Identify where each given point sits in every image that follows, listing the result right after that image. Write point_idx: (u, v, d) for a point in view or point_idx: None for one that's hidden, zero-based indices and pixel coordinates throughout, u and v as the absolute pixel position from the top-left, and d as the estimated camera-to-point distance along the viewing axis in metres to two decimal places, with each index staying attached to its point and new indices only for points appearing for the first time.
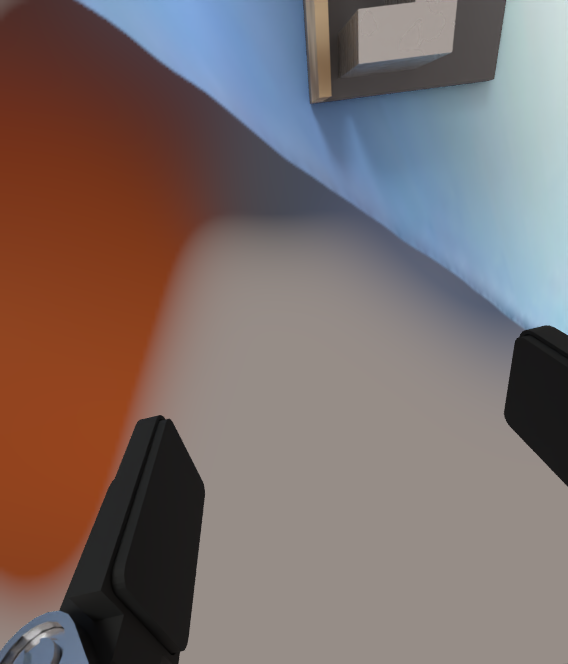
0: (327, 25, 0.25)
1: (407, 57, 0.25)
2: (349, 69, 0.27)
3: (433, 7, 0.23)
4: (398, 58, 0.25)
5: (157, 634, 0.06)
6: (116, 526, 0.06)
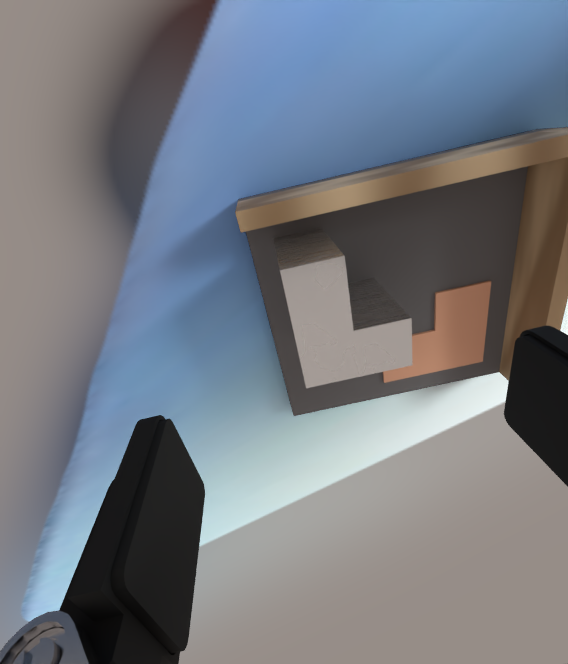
0: (326, 210, 0.17)
1: (295, 337, 0.17)
2: (278, 254, 0.17)
3: (348, 353, 0.18)
4: (292, 326, 0.17)
5: (157, 634, 0.06)
6: (116, 526, 0.06)
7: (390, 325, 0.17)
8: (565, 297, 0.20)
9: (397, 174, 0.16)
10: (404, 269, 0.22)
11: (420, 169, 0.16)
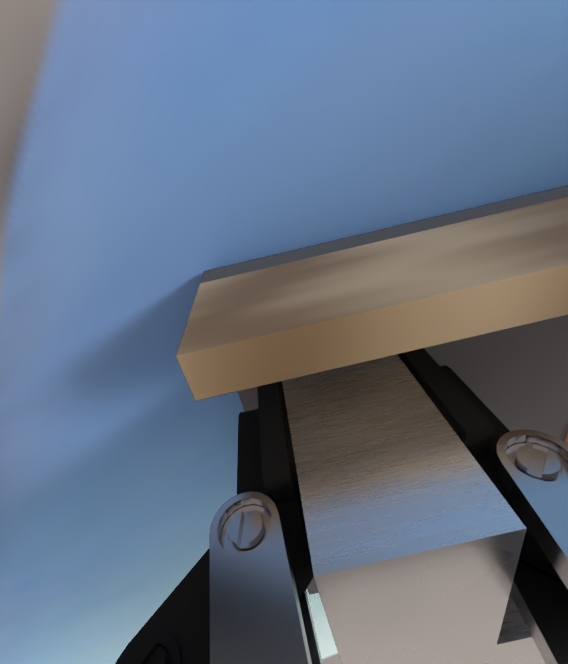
0: (431, 341, 0.06)
1: None
2: (295, 441, 0.07)
3: None
4: (341, 655, 0.06)
5: None
6: (278, 433, 0.07)
7: None
8: None
9: None
10: (525, 389, 0.12)
11: None
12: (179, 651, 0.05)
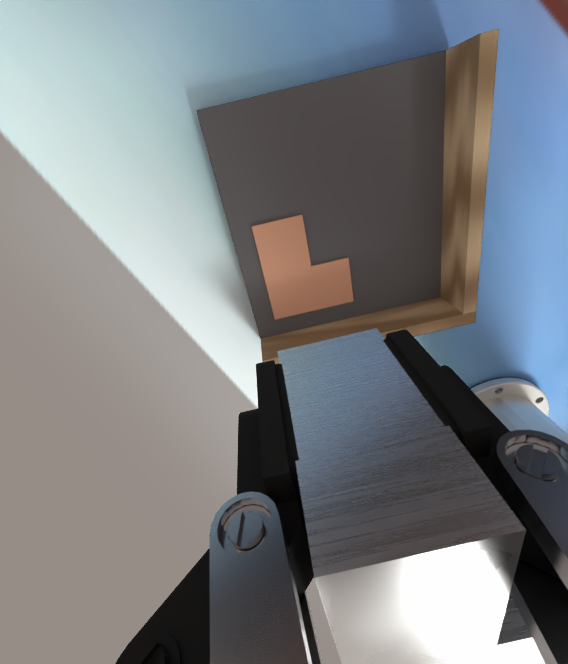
0: (476, 127, 0.20)
1: None
2: (296, 442, 0.07)
3: None
4: (341, 656, 0.06)
5: None
6: (278, 433, 0.07)
7: None
8: None
9: (484, 188, 0.22)
10: (373, 224, 0.26)
11: (483, 205, 0.22)
12: (179, 651, 0.05)
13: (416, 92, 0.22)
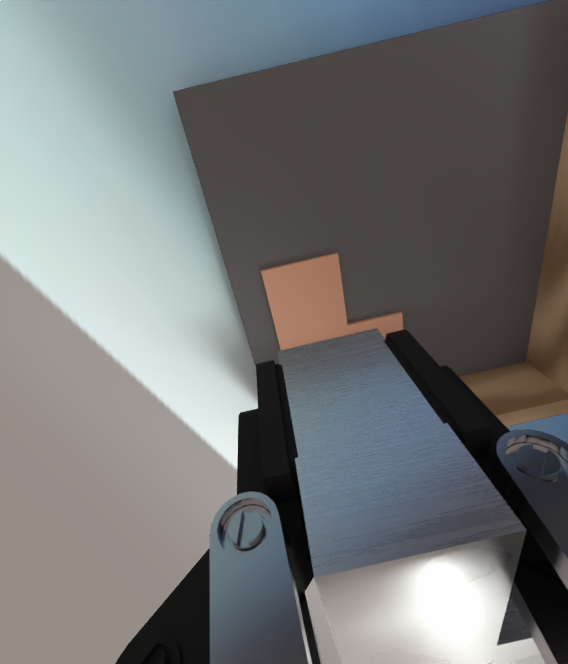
0: None
1: None
2: (296, 442, 0.07)
3: None
4: (341, 656, 0.06)
5: None
6: (278, 433, 0.07)
7: None
8: None
9: None
10: (441, 266, 0.17)
11: None
12: (179, 651, 0.05)
13: (530, 63, 0.13)
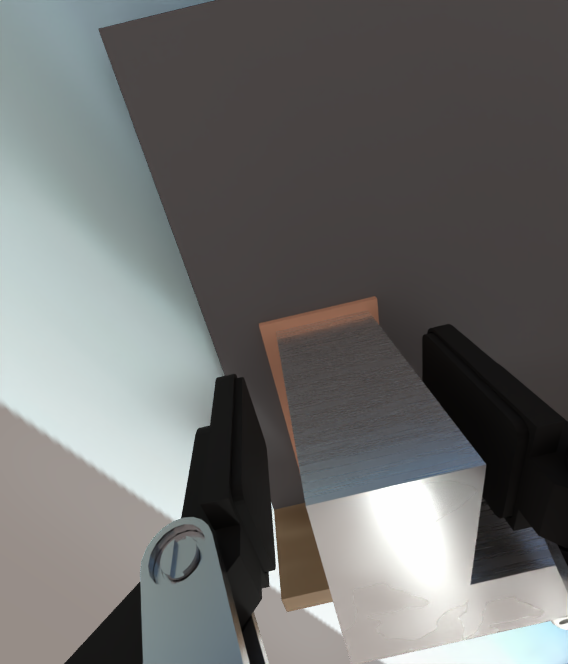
0: None
1: None
2: (291, 405, 0.08)
3: (450, 615, 0.08)
4: (331, 590, 0.07)
5: (258, 549, 0.07)
6: (225, 454, 0.07)
7: (553, 568, 0.07)
8: None
9: None
10: (526, 312, 0.12)
11: None
12: None
13: None
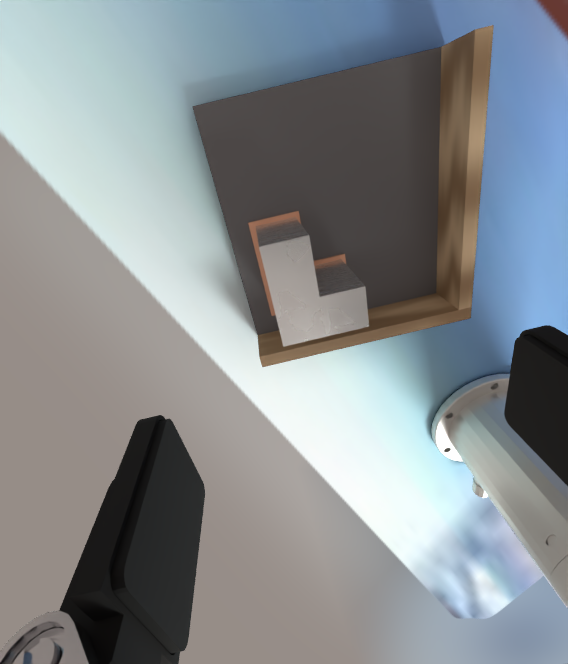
0: (471, 123, 0.20)
1: (273, 302, 0.21)
2: (258, 237, 0.22)
3: (316, 316, 0.22)
4: (270, 293, 0.21)
5: (157, 634, 0.06)
6: (116, 526, 0.06)
7: (348, 292, 0.22)
8: (359, 343, 0.27)
9: (479, 184, 0.22)
10: (369, 221, 0.26)
11: (478, 202, 0.22)
12: None
13: (411, 89, 0.22)
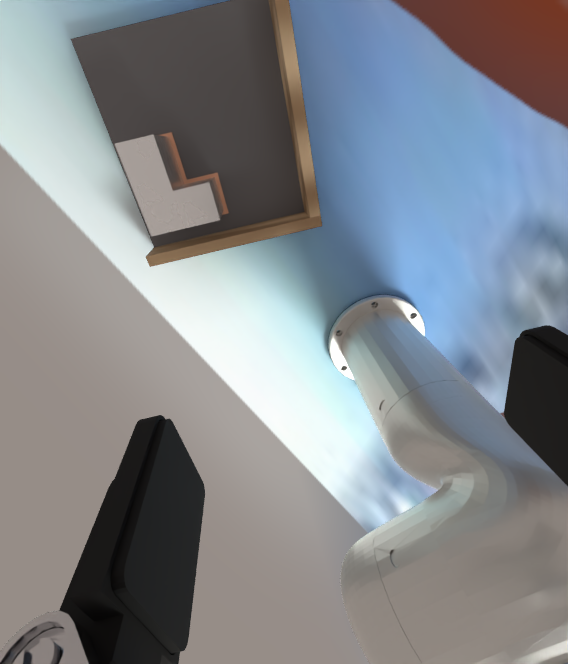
0: (284, 49, 0.26)
1: (135, 195, 0.27)
2: None
3: (174, 209, 0.28)
4: (131, 186, 0.27)
5: (157, 634, 0.06)
6: (116, 526, 0.06)
7: (196, 187, 0.27)
8: (230, 247, 0.32)
9: (303, 102, 0.27)
10: (233, 143, 0.31)
11: (305, 118, 0.28)
12: None
13: (249, 27, 0.27)
